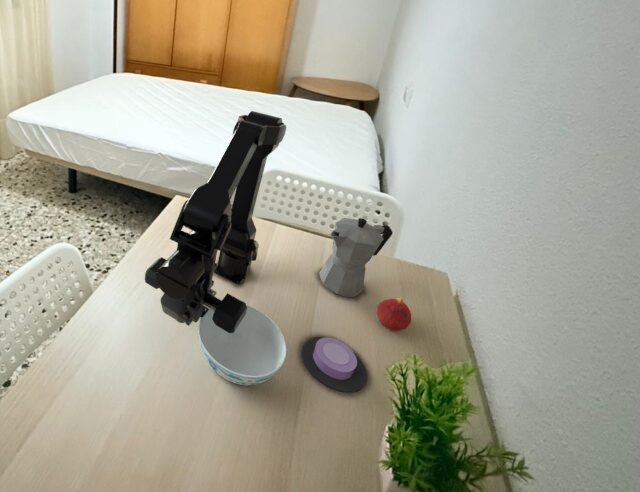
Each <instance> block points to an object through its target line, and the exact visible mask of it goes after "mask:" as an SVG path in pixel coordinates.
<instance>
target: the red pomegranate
mask: <svg viewBox="0 0 640 492" xmlns="http://www.w3.org/2000/svg"><path fill="white" fill-rule="evenodd" d="M376 315H377V318H378V321H379V322H380V323H381V325H382V326H383V327H385V328H386V329H387V330H388V329H389V330H390V331H395V332H401V331H404V330H406V329H407V328H408V327H409V326H410V325H411V323H412V312H411V310H410V308H409V306H408V305H407V304H406V303H405V302H404V298H403V297H401V296H400V297H397V298H387V299H386V298H385V299H383V300H382V301H381V302H380V303H378V305H377V308H376Z"/></svg>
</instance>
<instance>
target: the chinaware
mask: <svg viewBox="0 0 640 492" xmlns="http://www.w3.org/2000/svg"><path fill="white" fill-rule="evenodd" d="M246 305H247V311H246V315H245V316H244V318H243V319H242V321H241V322H240V324H239V325H238V327H237V328H236V330H235V332H234V333H228V332H226V331H225V330H223V329H221V328H220V327H218V326H216V325H215V323H214V322H213V320H212V317H213V314H214V312H213V311H212V310H210V309H209V311H208V312H207V313H206V315H205V316H204V317H200V319H199V322H198V339H199V344H200V348H201V351H202V353H203V356H204V358H205V359H206V361H207V363H208V365H209V366H210V368H211V369H212V370H213V371H214V372H215V373H217V375H219V376H220V377H222V378H223V379H225V380H226V381H228V382H231V383H233V384H237V385H241V386H255V385H261V384H262V383H265V382H266V381H268V380H270V379H271V378H273V377H274V376H275V375H276V374H277V373H278V372H279V371H280V369H281V368H282V366H283V365H284V363H285V361H286V357H287V352H288V351H287V343H286V339H285V337H284V334H283V332H282V331H281V329H280V327H279V326H278V325H277V324H276V323H275V321H274V320H273V319H272V318H270V317H269V316H268V315H267V314H266V313H264V312H263V311H261V310H259V309H257V308H256V307H253V306H251V305H249V304H246Z"/></svg>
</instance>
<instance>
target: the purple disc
mask: <svg viewBox="0 0 640 492" xmlns="http://www.w3.org/2000/svg"><path fill="white" fill-rule="evenodd" d="M353 352H354V351H353V349H351V347H350V346H348V344H346V343H344V342H342V341H341V340H339V339H336V338H333V337H327V338H321V339H319V340H318V341H317V343H316V345H315V348H314V351H313V359H314V361H315V363H316V365H317V366H318V367H319V369H320V370H321V371H323V372H324V373H325V374H327V375H328V376H330V377H332V378H335V379H339V380H345V379H348V378H350V377H351V376H352V375H353V373H354V371H355V368H356V366H357V359H356V356H355V354H356V353H355V352H354V353H355V354H354V353H353Z"/></svg>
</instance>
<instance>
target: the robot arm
mask: <svg viewBox="0 0 640 492" xmlns="http://www.w3.org/2000/svg"><path fill="white" fill-rule="evenodd" d="M286 132H287V125H286V124H285V123H284V122H283V118H282V117H278V116H274V115H270V114H266V113H263V112H258V111H254V110H251V111H249V113H248V114H242V115H239V116H238V118H237V122H236V123H235V126H234V127H233V131H232V137H231V138H230V140H229V141H228V144H227V146H226V148H225V149H224V151H223V153H222V154H221V157H220V159H219V161H218V162H217V165H216V166H215V168H214V170H213V172H212V174H211V176H210V178H209V179H208V181H207V182H205V183H204V184H201V185H200V186H198V187H197V188H195V189H194V191H193V192H192V194H190V197H189V198H188V199H187V200H185V202H183V205H182V206H181V209H180V211H179V214H178V216H177V219H176V221H175V224H174V226H173V230H172V231H171V235H170V236H169V240H170V241H173V242H175V243H177V247H176V250H175V251H174V252H173V253H172V254H171V255H170V256H169V258H167V259H166V258H164V257H159V258H158V259H156V260H155V261H154V262H153V263H152V264H151V265H150V266H149V267H148V268H147V269H146V271H145V273H144V282H145V283H146V284H147V285H149V286H150V287H152V288H154V289H156V290H157V289H160V290H161V292H162V293H163V294H162V296H161V297H160V305H161V309H162V312H163V314H165V315H167V316H169V317H171V318H172V319H174V320H175V321H176V322H178V323H180V324H184V323H185V325H186V326H188V327H189V326H191V324H192V323H193V322H194V323H198V322H199V321H200V319H201V317H204V316H205V315H206V313H207V312H208V311H209V309H210V310H212V311H213V312H214V314H213V317H212V320H213V322H214V323H215V325H216V326H218V327H220V328H221V329H223V330H225V331H226V332H228V333H234V332H235V330H236V328H237V327H238V325H239V324H240V322H241V321H242V319H243V318H244V316H245V315H246V311H247V305H248V304H247V303H246V302H244V301H243V300H240V299H239V298H237V297H235V296H234V295H232V294H230V293H226V294H225V295H224V296H223V298H222V299H220V298H218V297H216V295H217V291H216V290H214V289H213V288H212V287H214V284H215V281H214V280H213V277H214V274H216V275H218V276H220V277H222V278H224V279H225V280H228V281H230V282H232V283H233V284H235V285H240V284H241V283H242V281H243V280H245V279H247V277H248V276H249V274H250V271H251V270H250V269H251V267H252V263H253V262H255V261H257V258H258V251H259V247H260V246H259V245H260V244H259V243H258V240H255V239H256V235H257V234H256V233H257V228H256V224H255V223H254V219H253V215H254V210H255V206H256V203H257V199H258V195H259V191H260V188H261V183H262V180H263V176H264V172H265V167H266V163H267V159H268V157H269V156H270V155H271V154H272V153H273V152H274V151H275V150H276V149H277V148H278V147H279V145H280V143H282V142H283V140H284V137H285V135H286ZM233 195H234V197H233ZM232 197H233V201H232V204H231V200H232ZM184 227H185V228H186V229H188V230H190V232H186V231H184V230H183V228H184ZM218 251H219V254H218ZM217 255H218V259H217ZM216 260H217V263H216Z"/></svg>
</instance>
